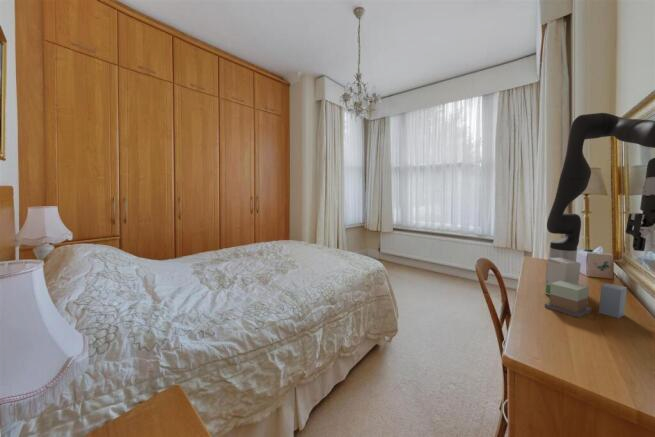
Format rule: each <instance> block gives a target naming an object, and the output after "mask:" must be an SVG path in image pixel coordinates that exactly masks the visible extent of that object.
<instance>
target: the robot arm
mask: <svg viewBox="0 0 655 437" xmlns="http://www.w3.org/2000/svg"><path fill="white" fill-rule="evenodd" d="M606 137H614V138H615V139H616V140H618V141H620V142H623V143H624V142H625V143H630V144H634V145H637V144H638V145H639V146H642V147H646V148H654V149H655V120H652V119H651V120H650V119H642V118H641V119H638V118H625V117H621V116H617V115H614V114H611V113H607V112H597V113H596V112H595V113H587V114H581V115H580V114H579V115H577V116H576V117H574V119H573V120H572V122H571V124H570V128H569V132H568V140H567V146H566V152H565V157H564V162H563V165H562V169H561V172H560V175H559V180H558V184H557V188H556V193H555V194H556V195H555V198H554V200H553V204H552V207H551V208H550V211H549V215H548V217H547V221H546V229H547V231H548V232H549V233H550V234H557V235H564V236H563V237H562V238H559V239H555V240H552V241H551V242H550V245H549V257H548V258H564V259H568V260H572V261H575V262H577V254H578V246H579V245H580V244H579V242H580V235H581V229H582V219H581V216H580V215H579V214H577V213H564V212H565V211H566V209H567V208H568V207H569V205H570V204H571V203H572V202H573V201H575V200H576V199H577V198H579V197H580V195H582V194H583V193H584V192H585V191H586V189H588V186H589V183H590V179H591V175H592V170H591V166H590V165H589V163H588V161H587V159H586V157H585V156H584V151H583V150H584V144H585V141H586V140H593V139H599V138H606ZM639 210H640V211H642V213H641V212H640V213H638V212H633V213H631V212H630V213H629V214H628V218H627V222H626V228H625V233H626V235H630V236H632V237H633V240H632V248H633V250H634V251H638V252H644V251H646V250H645V248H646V241H647V238H646V237H647V236H648V235H649V234H650V233H653V232H654V231H655V157H653V158H651V159H650V160H649V161H648V162H647V166H646V172H645V180H644V183H643V186H642V192H641V200H640V209H639ZM547 267H548V262H547V263H546V270H545V278H546V277H547Z"/></svg>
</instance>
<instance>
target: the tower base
mask: <svg viewBox="0 0 655 437" xmlns="http://www.w3.org/2000/svg"><path fill="white" fill-rule="evenodd" d="M588 299H589V286H588V285H584V284H580V283H578V284H576V283H572V282H567V281H563V280H560V281H557V282H554V283H551V287H550V295H549V301H548V302H545V303H544V308H547V309H550V310H553V311H556V312H559V313H563V314H565V315H569V316H571V317H572V316H573V317H574V318H579V319H580V318H582V317H583V316H586V315H587V314H589V313H591V312H592V311H593V310H592V309H593V308H592V307H589V306H588Z"/></svg>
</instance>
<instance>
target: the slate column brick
mask: <svg viewBox="0 0 655 437" xmlns="http://www.w3.org/2000/svg"><path fill="white" fill-rule="evenodd" d="M627 290H628V287H626V286H622V285H619V284H617V285H616V284H611V283H604V284H602V285H601V286H600V296H599V306H598V314H602V315H606V316H609V317H613V318H616V319H620V318H622V317H624V316H625V314H626V313H625V311H626V301H627V294H628V293H627Z"/></svg>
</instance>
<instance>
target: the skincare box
mask: <svg viewBox="0 0 655 437" xmlns="http://www.w3.org/2000/svg"><path fill="white" fill-rule="evenodd" d="M547 263H548V267H547V266H546V268H547V277H546V276H545V286H544V287H545V288H544V294H545V295H548V296H550V287H551V283H554V282H557V281H560V280H563V281H567V282H572V283H576V284H579V281H580V273H581V272H580V271H581V265H582V263H581V262H577V261H576V262H575V261H572V260H568V259H564V258H549V257H548V258H547Z"/></svg>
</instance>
